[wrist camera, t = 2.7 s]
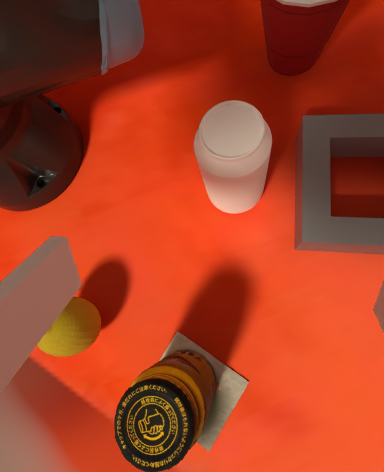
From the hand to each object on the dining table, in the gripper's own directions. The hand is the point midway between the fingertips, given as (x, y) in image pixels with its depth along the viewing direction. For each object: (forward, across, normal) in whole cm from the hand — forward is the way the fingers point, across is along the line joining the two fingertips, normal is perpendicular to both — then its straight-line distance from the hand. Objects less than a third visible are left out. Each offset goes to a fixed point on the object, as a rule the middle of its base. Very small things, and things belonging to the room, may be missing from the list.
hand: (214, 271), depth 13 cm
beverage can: (+22, 0, -6) cm, 23 cm away
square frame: (+22, +13, -5) cm, 26 cm away
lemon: (+11, -15, -17) cm, 25 cm away
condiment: (+7, -3, -21) cm, 22 cm away
